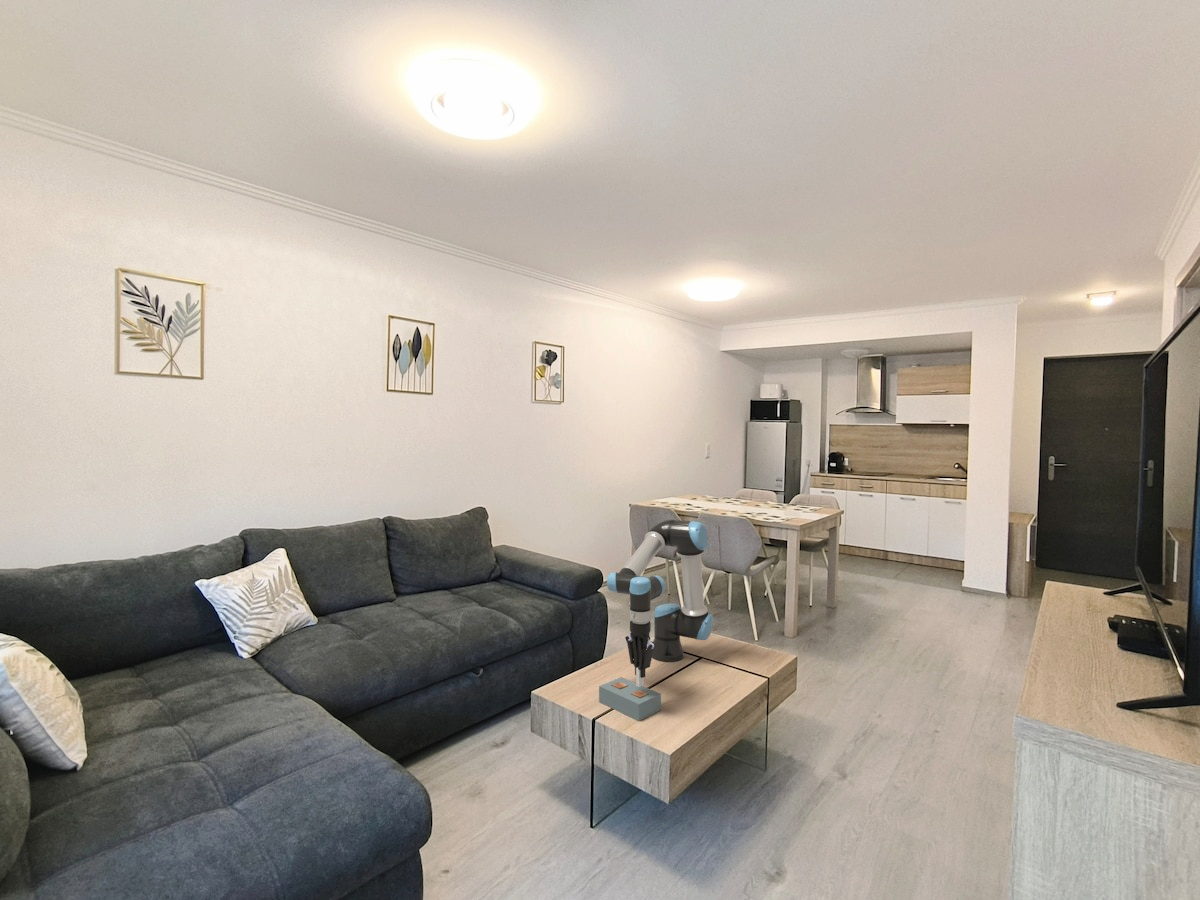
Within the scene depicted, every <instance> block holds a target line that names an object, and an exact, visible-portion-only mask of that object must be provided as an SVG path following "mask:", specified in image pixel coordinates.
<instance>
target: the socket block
mask: <svg viewBox="0 0 1200 900" xmlns="http://www.w3.org/2000/svg"><path fill="white" fill-rule="evenodd" d="M618 682H621V683H624V684H626V685H627V687H625V688H623V689H618V688H615V687H613V686H612V685H613V684H616V683H618ZM639 690H640V691H642V692H644V693H647V694H648V695H647V696H645V697H642V698H638V697H636V696H633V695H632V693H634V692H637V691H639ZM598 703H600V704H602V705H605V706H607V707H608V708H610V709H613V710H615V711H616V712H618V713H621V714H624V716H627V717H628V718H631V719H633V720H635V721H637V722H640V721H642V720H644V719H646V718H648V717H651V716H652V715H654V714H655V713H657V712H660V711H661V710H662V693H660V692H658V691H656V690H654V689H650V688H648V687H646V686H644V685H642V686H640V687H638V686H636V682H634V681H632V680H630V679H627V678H624V677H623V676H620V677H618V678H615V679H614V680H611V681H608V682H606V683H603V684H601V685H599V686H598Z"/></svg>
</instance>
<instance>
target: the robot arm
mask: <svg viewBox="0 0 1200 900" xmlns="http://www.w3.org/2000/svg"><path fill="white" fill-rule="evenodd" d="M708 533H709V532H708V529H707V527H706V525H705V524H704V523H702V522H699V521H694V520H679V519H666V520H663V521H661V522H659V523H657V524H655V525H653V526H652V527H651V528H649V530H647V532H646V533H645V535H644V540H643V541H642V543H640V545H639V546H638V548H637V549H636V550H635V552H634V553H633V554H632V555H631V557H630V558H629V559H628V560H627V562H626V563H625V564H624V565H623V567H622V568H621V570H619V572H617V571H615V572H611V573H609V574H608V575H607V579H606V587H607V589H608V591H609V592H611V593H612V592H613V593H617V594H622V595H629V620H630V621H629V631H630V634H629V635H626V636H625V641H626V644H627V649H628V655H629V661H630V664H631V665H633V667H634V675H635V683H636V686H638V687H640V686H644V685H645V677H646V670H647V669H649V668H650V667H651V663H652V659H654V660H656V661H660V662H666V663H667V662H668V663H669V662H672V663H673V662H678V661H680V660H682V659H684V657H685V656H684V654H685V653H684V652H685V651H684V649H683V645H682V641H681V637H682V638H689V639H693V640H696V641H699V640H700V641H707V640H708V638H709V637H710V635H711V633H712V630H713V626H714V615H713V614H711V613H709V609H708V606H706V605H705V599H704V598H705V597H704V584H703V569H702V567H703V566H702V554H704V553H705V550H706V549H707V548H708V545H709V542H708V541H709V534H708ZM665 547H673V548H674V547H675V548H676V553H677V555H679V556H680V558H681V559H680V560H681V561H680V563H681V564H680V565H681V576H682V586H683V588H682V589H683V591H682V592H683V601H684V605H683V606H682V607H681V605H680V604H678V603H665V604H660V605H658V606H656V607H655V609H654V616H653V617H654V619H653V620H654V623H653V625H654V628H653V629H654V635H653V636H654V639H653V642H652V640H651V636H650V633H651V631H652V630H651V627H652V626H651V623H652V622H651V610H652V609H651V601H653V600H654V599H656V598H658V597H661V595H662V594H664V592H665V591H666V587H667V586H666V582H665V579H664V578H663V577H661V576H659V575H651V576H650V577H649V576H643V575H642V574H643V572H644V571H645V570H646V569H647V567H648V566H649V565H650V563H651V562H652V561H653V559H654V558H655V557H656V555H657V554H658V553H659V551H662V550H663V549H664V548H665ZM641 575H642V576H641Z"/></svg>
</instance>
